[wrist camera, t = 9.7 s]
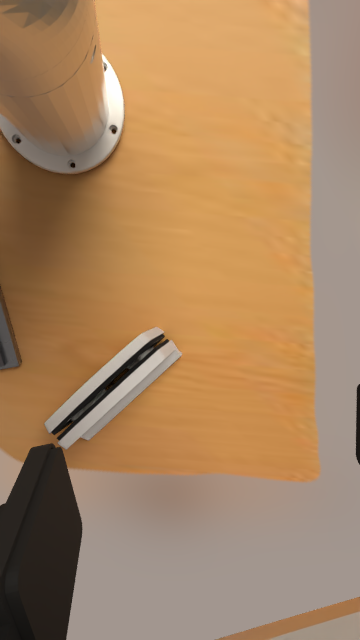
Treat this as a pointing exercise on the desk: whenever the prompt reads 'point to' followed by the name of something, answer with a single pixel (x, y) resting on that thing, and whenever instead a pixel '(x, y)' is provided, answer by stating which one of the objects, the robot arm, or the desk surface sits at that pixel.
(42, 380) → the desk surface
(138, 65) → the desk surface
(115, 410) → the white black arched block
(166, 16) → the desk surface
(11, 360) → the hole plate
